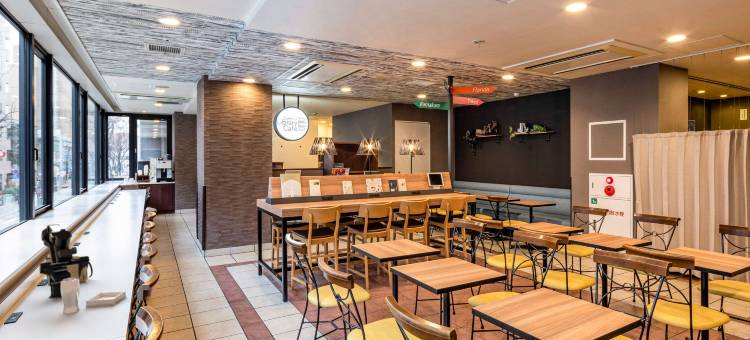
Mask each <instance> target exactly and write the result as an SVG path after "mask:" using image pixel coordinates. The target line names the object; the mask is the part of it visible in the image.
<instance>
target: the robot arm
mask: <svg viewBox="0 0 750 340" xmlns="http://www.w3.org/2000/svg"><path fill="white" fill-rule="evenodd" d="M40 235H41V236H40V238H41V241H42V242H43V245H44V246H45V247H47V248H48V252H49V253H48V254H49V255H50V259H51V261H48V262H46V261H42V262H40V264H39V269H38V271H39V274H41V275H42V274H43V275H46V276H47V275H48V279H47V285H48V286H49V287H50V295H49V296H48V299H50V298H62V296H61V280H63V279H66V278H71V273H70V271H68V269H67V266H70V265H76V264H78V275H79V278H80V276H81V271H82V269H83V268H85V266H88V267H89V262H90V256H88V255H80V256H81V257H79V258H78V260H74V261H72V259H73V256H74V255H76V254H77V253H78V249H77V246H72V247H71V248H70V243H71V239H72V238H73V234H72V232H70V231H69V230H67V229H66V228H61V227H60V224H58V223H55V224H47V225H46V228H45V229H43V230H41V234H40Z"/></svg>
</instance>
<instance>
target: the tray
mask: <svg viewBox="0 0 750 340" xmlns="http://www.w3.org/2000/svg"><path fill="white" fill-rule="evenodd" d="M126 297H127V292H126V291H125V290H123V291H120V290H119V291H105V292H103V291H102V292H99V293H96V294H95V295H93V296H92V297H90V298H88V299H86V300H85V307H86V308H94V307H109V306H111V307H112V306H115V305H116V304H118V303H119V302H121V301H122V300H123V299H125V298H126Z"/></svg>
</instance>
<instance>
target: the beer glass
mask: <svg viewBox="0 0 750 340" xmlns="http://www.w3.org/2000/svg"><path fill="white" fill-rule="evenodd" d="M80 288H81V286H80V281H79V278H78V277H73V278H66V279H63V280H61V296H62V297H61V300H62V303H63V310H62V314H63V315H71V313H73V314H76V313H78V312H79V311H80V306H79V297H80V292H81V291H80ZM75 312H76V313H75Z"/></svg>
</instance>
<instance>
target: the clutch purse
mask: <svg viewBox="0 0 750 340" xmlns="http://www.w3.org/2000/svg"><path fill="white" fill-rule="evenodd" d="M72 256H73V259H72V261H74V260H78V258H79V257H81V256H82V255H72ZM48 261H51V259H50V254H46V256H45V262H48ZM88 268H89V269H90V275H88ZM67 269H68V271H70V273H71V278H73V277H78V278H79V275H78V264H76V265H70V266H67ZM93 275H94V270H93V266H92V264H91V261H89V264H88V266H85V268H83V269H82V271H81V276H80V278H79V283H80V282H84V283H86V282H87V281H88V279H89V278H91V277H92V276H93ZM46 279H47V280H48V275H46Z"/></svg>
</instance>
